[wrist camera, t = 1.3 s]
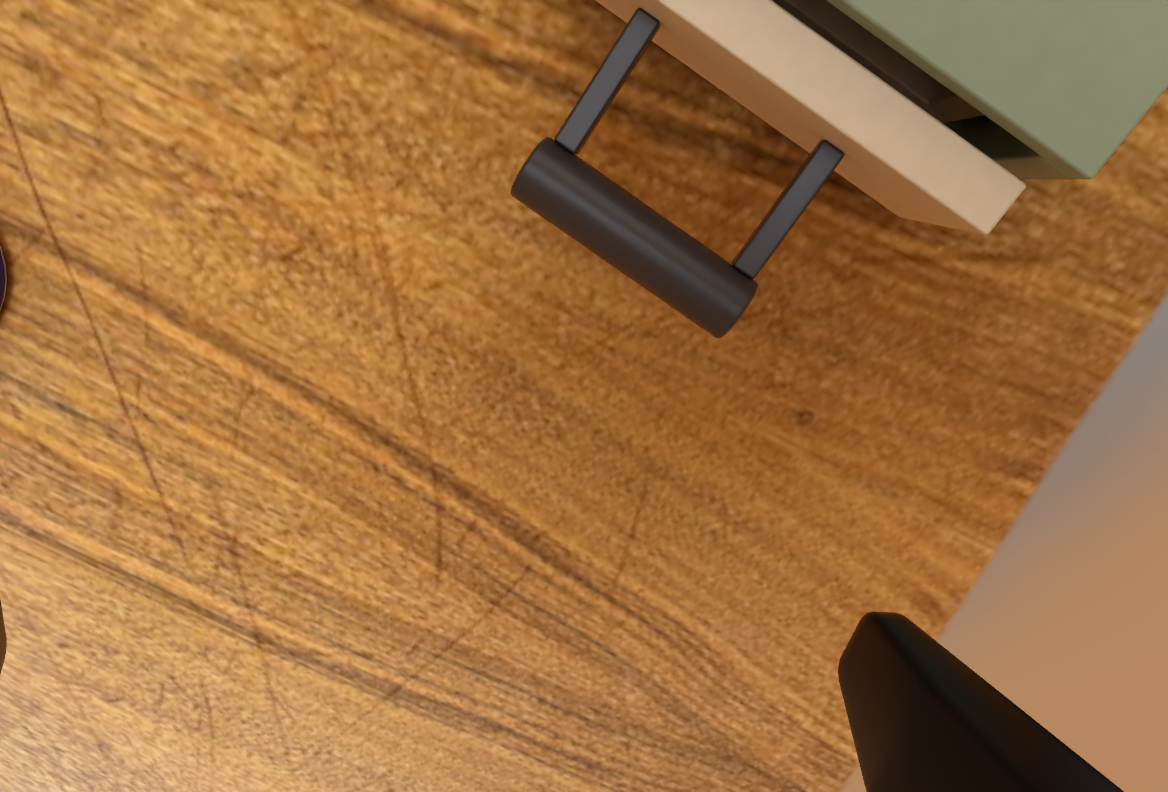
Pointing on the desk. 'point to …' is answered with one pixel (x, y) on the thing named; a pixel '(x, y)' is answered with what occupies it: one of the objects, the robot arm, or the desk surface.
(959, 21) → the cabinet
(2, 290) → the energy drink
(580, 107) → the drawer
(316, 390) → the desk surface
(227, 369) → the desk surface
